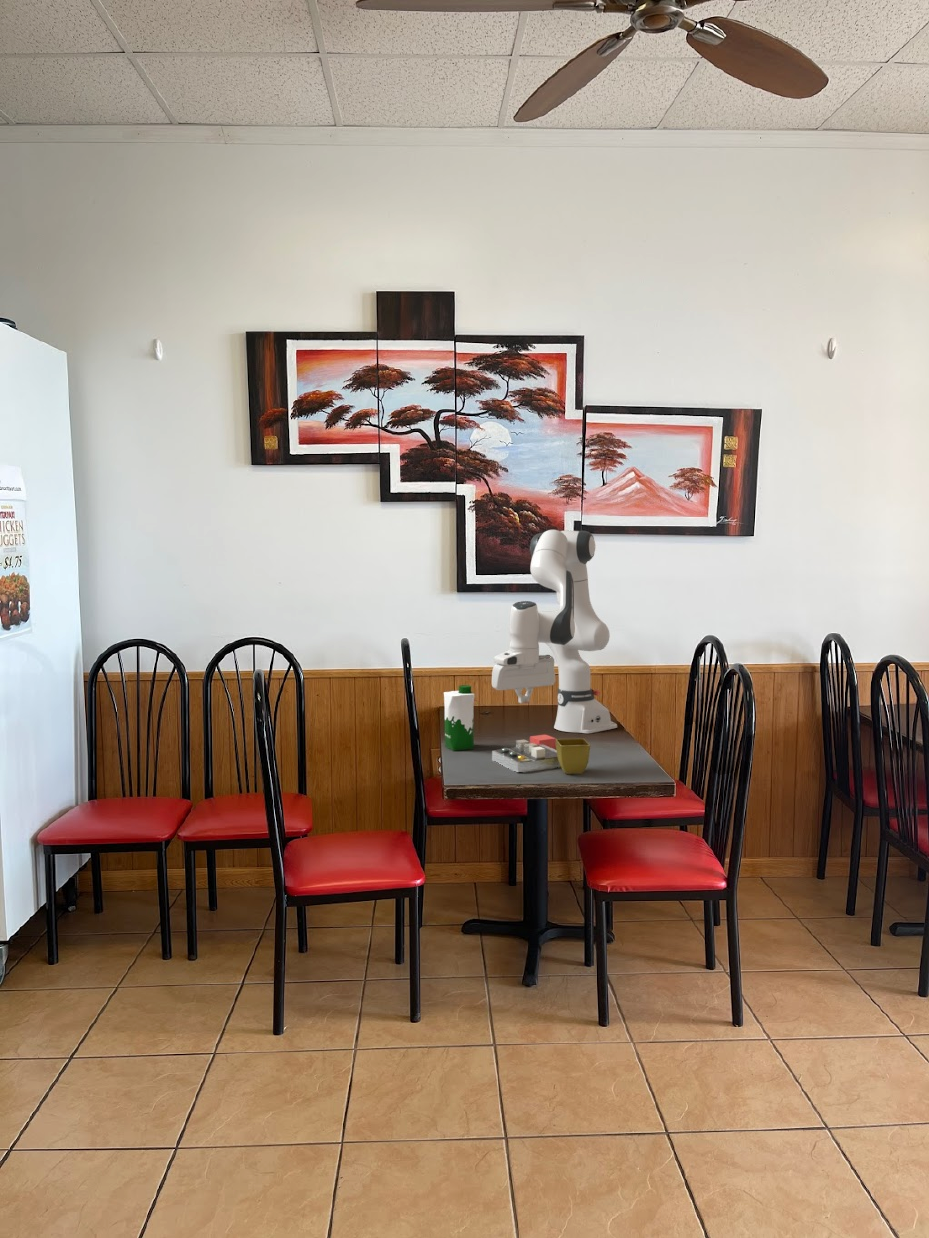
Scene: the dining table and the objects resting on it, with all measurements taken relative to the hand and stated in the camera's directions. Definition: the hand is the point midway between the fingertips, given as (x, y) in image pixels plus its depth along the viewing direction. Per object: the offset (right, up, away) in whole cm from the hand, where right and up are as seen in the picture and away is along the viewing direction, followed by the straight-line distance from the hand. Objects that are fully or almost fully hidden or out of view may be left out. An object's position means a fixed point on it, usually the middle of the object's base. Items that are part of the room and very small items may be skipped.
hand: (523, 702), depth 272 cm
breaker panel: (+2, -19, +4) cm, 19 cm away
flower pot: (+14, -20, -5) cm, 25 cm away
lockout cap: (+7, -17, +21) cm, 28 cm away
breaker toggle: (+4, -16, -1) cm, 17 cm away
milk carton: (-19, -17, +24) cm, 35 cm away
